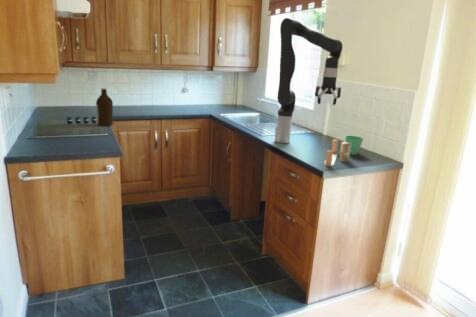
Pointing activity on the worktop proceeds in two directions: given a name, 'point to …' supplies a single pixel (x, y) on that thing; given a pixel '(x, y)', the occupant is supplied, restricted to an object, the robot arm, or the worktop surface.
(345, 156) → the brown upright block
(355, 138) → the mug
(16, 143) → the worktop surface
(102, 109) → the olive oil
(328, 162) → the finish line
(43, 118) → the worktop surface
